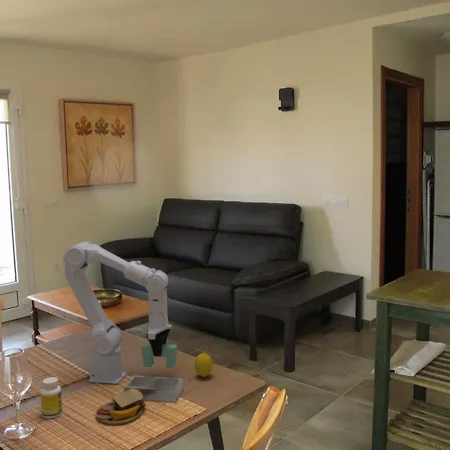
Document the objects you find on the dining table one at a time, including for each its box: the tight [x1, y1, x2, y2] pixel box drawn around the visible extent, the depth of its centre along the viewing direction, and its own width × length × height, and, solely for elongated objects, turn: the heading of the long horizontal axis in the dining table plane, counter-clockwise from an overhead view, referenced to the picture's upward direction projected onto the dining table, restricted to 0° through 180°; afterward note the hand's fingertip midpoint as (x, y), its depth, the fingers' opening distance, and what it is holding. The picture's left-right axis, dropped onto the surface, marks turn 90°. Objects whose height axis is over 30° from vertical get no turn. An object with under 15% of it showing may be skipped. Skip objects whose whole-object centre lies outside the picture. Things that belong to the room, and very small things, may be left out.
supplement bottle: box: [39, 376, 63, 419], centre depth 142 cm, size 5×5×10 cm
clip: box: [141, 342, 178, 369], centre depth 162 cm, size 10×3×6 cm, turn 80°
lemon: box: [194, 352, 213, 378], centre depth 164 cm, size 6×6×8 cm
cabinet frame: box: [123, 375, 184, 403], centre depth 153 cm, size 15×8×4 cm, turn 80°
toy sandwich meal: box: [95, 388, 147, 426], centre depth 142 cm, size 12×14×5 cm
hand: (159, 353), depth 162 cm, fingers closed on clip, 3 cm apart
